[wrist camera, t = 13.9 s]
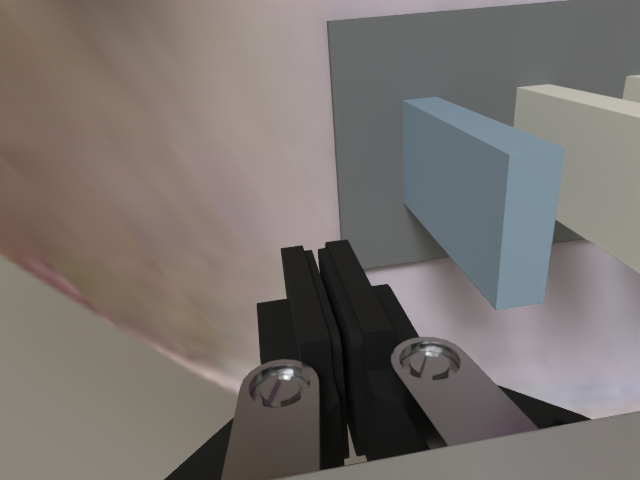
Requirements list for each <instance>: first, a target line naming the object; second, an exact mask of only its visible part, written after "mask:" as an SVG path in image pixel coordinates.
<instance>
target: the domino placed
mask: <svg viewBox="0 0 640 480" xmlns="http://www.w3.org/2000/svg"><path fill="white" fill-rule="evenodd" d="M564 152H565V148H563V147H561V146H558V145H556V144H553V143H551V142H548V141H546V140H543V139H541V138H538V137H536V136H533V135H531V134H528V133H526V132H523V131H521V130H518V129H516V128H513V127H511V126H508V125H506V124H503V123H501V122H498V121H496V120H493V119H491V118H488V117H486V116H483V115H481V114H478V113H476V112H474V111H471V110H469V109H466V108H464V107H461V106H459V105H456V104H454V103H451V102H449V101H446V100H444V99H441V98H439V97H429V98H419V99H410V100H403V202H404V204H405V205H406V206H407V207H408V208H409V209H410V211H411V212H412V213H413V214H414V215H415V216H416V218H417V219H418V220H419V221H420V222H421V223H422V225H423V226H424V227H425V228H426V229H427V230H428V232H429V233H430V234H431V235H432V236H433V237H434V239H435V240H436V241H437V242H438V243H439V244H440V246H441V247H442V248H443V249H444V250H445V251H446V253H447V254H448V255H449V256H450V257H451V258H452V260H453V261H454V262H455V263H456V264H457V265H458V267H459V268H460V269H461V270H462V271H463V272H464V274H465V275H466V276H467V277H468V278H469V279H470V281H471V282H472V283H473V284H474V285H475V286H476V288H477V289H478V290H479V291H480V292H481V293H482V295H483V296H484V297H485V298H486V299H487V300H488V301H489V303H490V304H491V305H492V306H493V307H494V308H495V310H499V309H506V308H512V307H519V306H526V305H533V304H540V303H544V298H545V291H546V283H547V276H548V269H549V261H550V254H551V247H552V240H553V232H554V225H555V218H556V210H557V203H558V196H559V189H560V181H561V174H562V167H563V159H564Z"/></svg>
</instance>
